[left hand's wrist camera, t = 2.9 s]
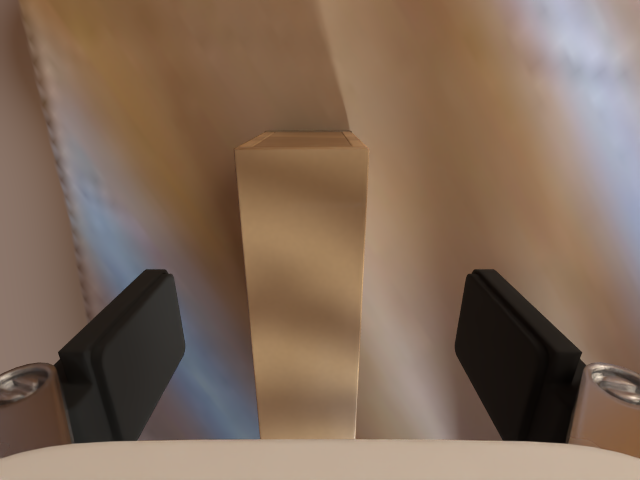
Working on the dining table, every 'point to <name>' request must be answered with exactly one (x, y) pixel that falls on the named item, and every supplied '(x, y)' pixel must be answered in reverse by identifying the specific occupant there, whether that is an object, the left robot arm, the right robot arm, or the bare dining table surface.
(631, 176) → the dining table surface
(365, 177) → the wooden crate box
